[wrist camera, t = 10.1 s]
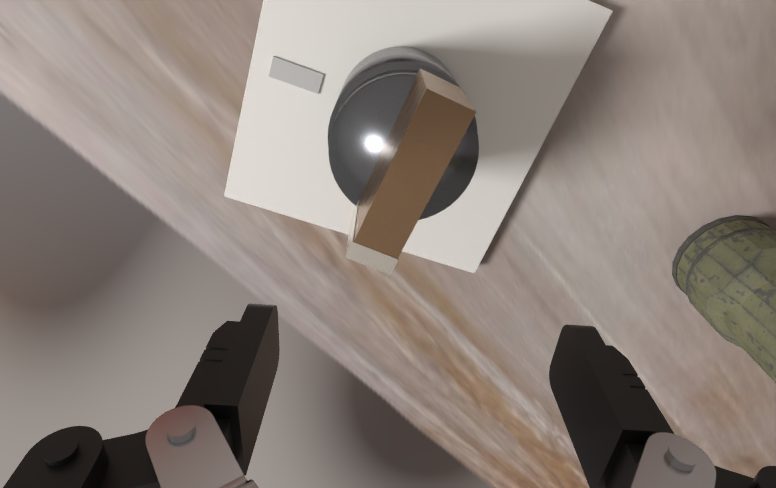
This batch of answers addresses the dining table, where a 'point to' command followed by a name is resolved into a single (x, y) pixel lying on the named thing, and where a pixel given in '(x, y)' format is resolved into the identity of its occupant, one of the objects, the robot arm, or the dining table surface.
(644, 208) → the dining table surface
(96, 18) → the dining table surface
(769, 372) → the thermos
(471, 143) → the lock lever handle
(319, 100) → the lock base
